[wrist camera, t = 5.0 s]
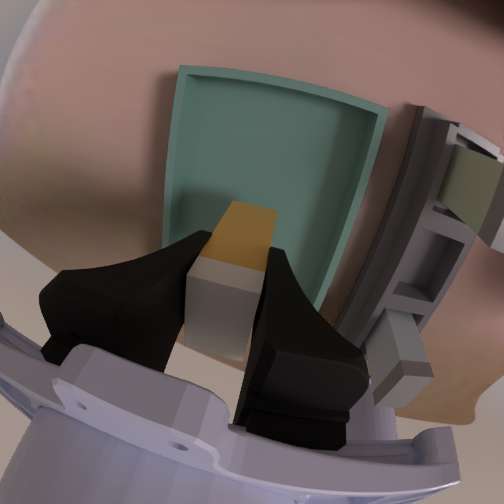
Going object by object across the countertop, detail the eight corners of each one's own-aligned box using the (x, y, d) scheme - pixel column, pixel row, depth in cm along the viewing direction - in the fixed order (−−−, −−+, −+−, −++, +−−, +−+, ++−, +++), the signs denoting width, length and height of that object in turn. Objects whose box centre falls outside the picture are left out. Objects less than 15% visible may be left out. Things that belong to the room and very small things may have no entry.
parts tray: (306, 315, 22) (306, 337, 20) (174, 281, 22) (161, 300, 20) (376, 107, 14) (389, 108, 11) (195, 69, 14) (179, 65, 12)
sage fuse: (457, 205, 14) (516, 260, 8) (430, 193, 14) (490, 247, 8) (474, 156, 13) (544, 192, 7) (447, 141, 13) (519, 171, 7)
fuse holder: (397, 342, 22) (404, 366, 20) (331, 331, 22) (333, 356, 20) (492, 147, 13) (515, 157, 10) (418, 105, 13) (438, 107, 10)
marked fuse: (263, 266, 16) (242, 361, 10) (223, 256, 17) (183, 345, 11) (277, 210, 15) (260, 293, 9) (233, 200, 15) (186, 275, 9)
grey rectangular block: (387, 337, 20) (403, 407, 14) (362, 332, 21) (374, 406, 15) (408, 304, 19) (434, 377, 13) (382, 299, 19) (404, 375, 13)
